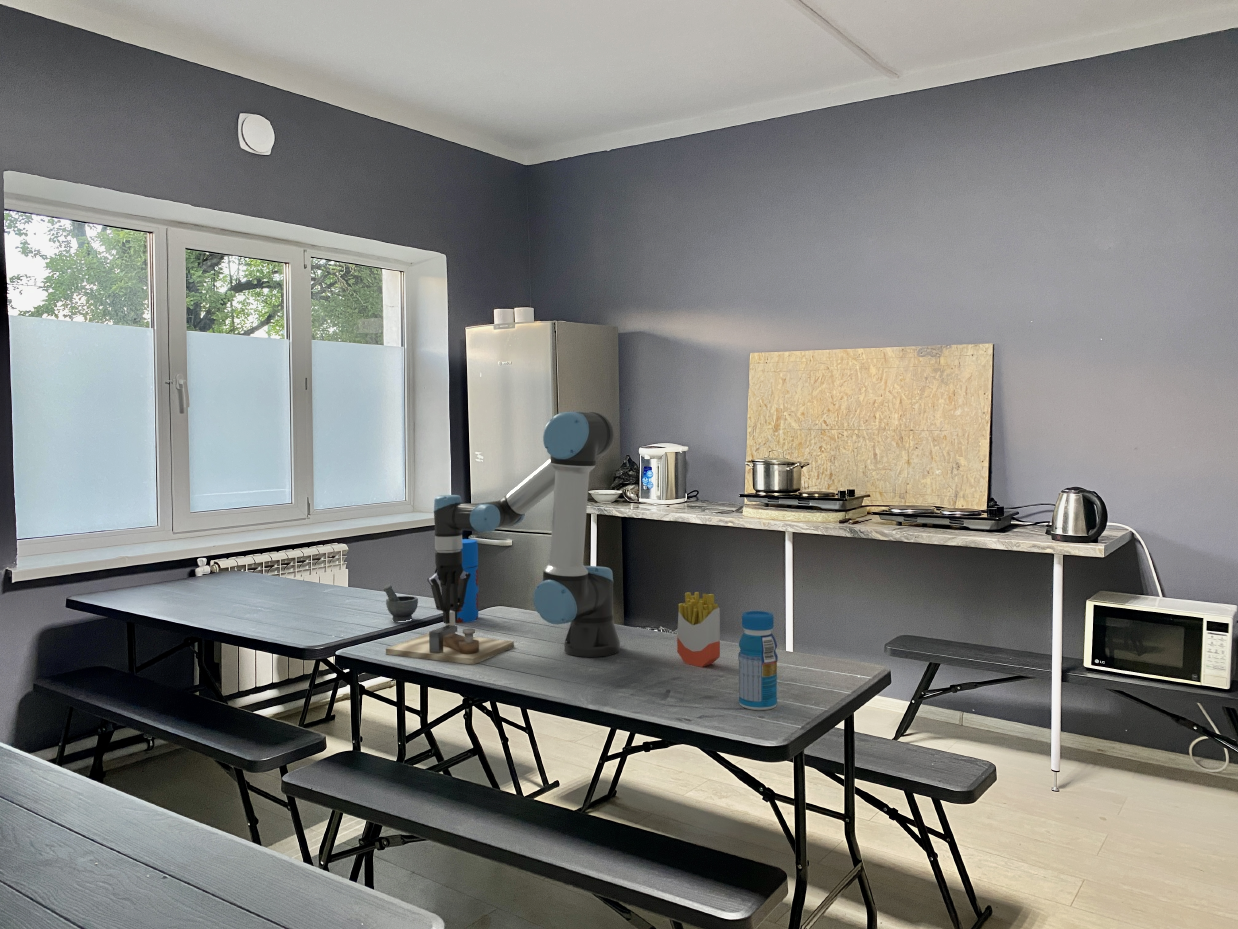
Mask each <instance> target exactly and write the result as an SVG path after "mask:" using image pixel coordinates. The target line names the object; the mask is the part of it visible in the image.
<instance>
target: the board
mask: <svg viewBox="0 0 1238 929" xmlns="http://www.w3.org/2000/svg"><path fill="white" fill-rule="evenodd" d="M463 636H464V637H465V635H463ZM473 640H478V641H479V651H478V652H476V653H471V654H464V653H460V652H459V651H457V650H455V649H452V648H450V647H447V646H444V645H443V652H441V653H431V652H430V651H429V633H425V634H423V635H421V636H420V635H419V636H417V637H414V638H411V639H409V640H406V641H404V642H401V643H397V644H395V645H394V644H393V646H392V645H391V646H389V647H386V648H385V655H392V656H398V655H400V657H407V658H408V657H409V658H416V659H423V660H431V661H441V662H450V663H458V664H467V665H476V664H478V663H480V662H482V661H485V660H487V659H489V658H493V657H494V656H496V655H498V654H501V653H503V652H505V651H507V650H509V649H512V648H514V647H515V642H514V640H505V639H504V640H503V639H496V638H495V639H493V638H485V637H478V636H477V637H476V636H473Z"/></svg>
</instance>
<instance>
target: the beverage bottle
mask: <svg viewBox="0 0 1238 929" xmlns="http://www.w3.org/2000/svg"><path fill="white" fill-rule="evenodd" d="M774 619H775V618H774V614H773V613H772V612H769V611H765V610H764V611H763V610H750V611H749V610H748V611H744V612H743V613H742V616H741V626H742V629H743V630H744V632H743V633H742V635H741V636H740V639H739V642H738V647H739V652H738V654H737V655H738V656H737V657H738V658H737V659H738V660H737V661H738V677H739V678H738V690H739V691H738V692H739V693H738V703H739V705H740V706H741V707H743V708H745V709H747V710H752V711H767V710H772V709H774V708H776V707H777V704H778V660H779V659H778V658H779V657H778V653H777V652H776V650H777V648H778V644H777V641H776V638H775V636H774V635H773V632H772V631H773V630H774V626H775V625H774V624H775V622H774V621H775V620H774Z"/></svg>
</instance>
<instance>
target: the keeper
mask: <svg viewBox="0 0 1238 929" xmlns="http://www.w3.org/2000/svg"><path fill="white" fill-rule="evenodd" d="M432 630H433V631H432ZM432 630H430V631H429V651H430V652H431V653H441V652H443V637H444V636H447V635H449V634H452V633H456V632H458V625H455V626H453V625H447V626H446V625H444V626H442V627H439V628H436V629H432Z"/></svg>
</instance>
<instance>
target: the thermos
mask: <svg viewBox="0 0 1238 929" xmlns="http://www.w3.org/2000/svg"><path fill="white" fill-rule="evenodd" d="M478 546H479V545H478V540H476V539H471V538H469V539H467V538H464V539H463V538H462V547H463V548H462V549H460V550H461V551H462V555H463V563H462V567H463V571H465V572H466V573H470V574H471V576H470V578H469V580H468V583H467V588H466V594H465V599H464V605H463V607H462V608H459V611H457V622H455V624H460V623H462V624H463V623H464V624H465V623H471V622H475V621H478V619H479V611H480V610H479V609H480V606H479V605H480V604H479V603H480V602H479V596H480V595H479V547H478ZM459 580H460V578H459ZM459 580H458V583H459ZM450 610H451V609H450Z"/></svg>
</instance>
